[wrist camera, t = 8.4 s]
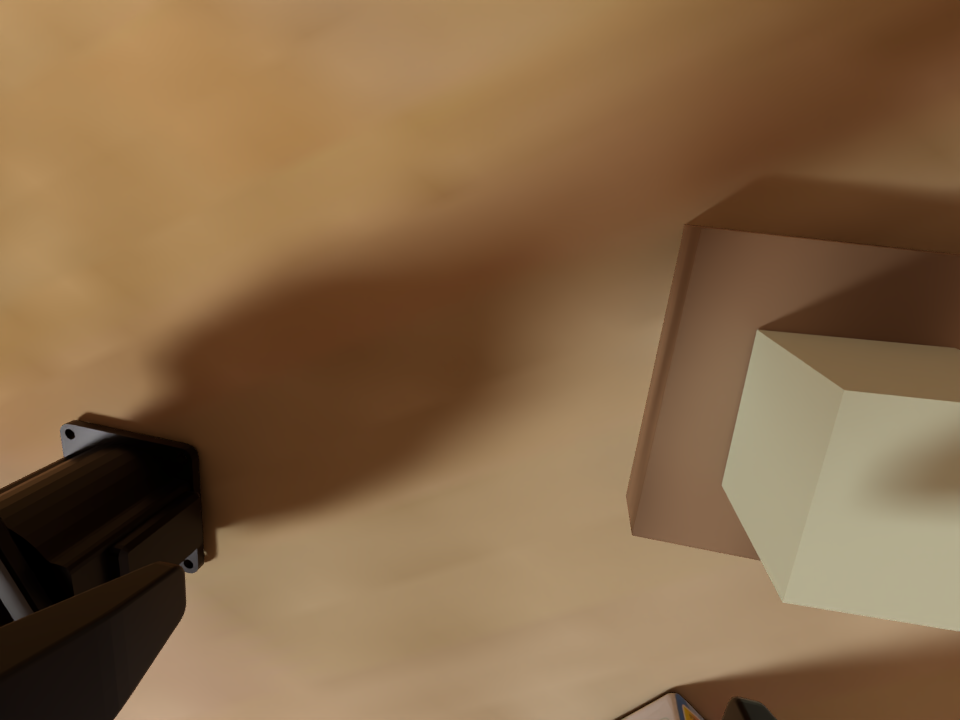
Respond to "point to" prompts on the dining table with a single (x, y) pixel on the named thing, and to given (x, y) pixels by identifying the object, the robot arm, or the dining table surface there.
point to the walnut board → (728, 346)
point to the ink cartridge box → (666, 710)
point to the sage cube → (852, 474)
